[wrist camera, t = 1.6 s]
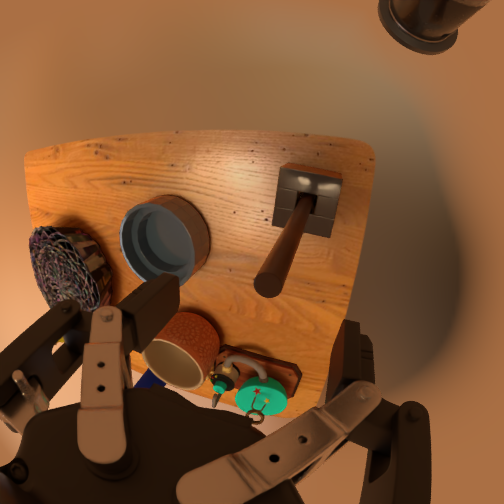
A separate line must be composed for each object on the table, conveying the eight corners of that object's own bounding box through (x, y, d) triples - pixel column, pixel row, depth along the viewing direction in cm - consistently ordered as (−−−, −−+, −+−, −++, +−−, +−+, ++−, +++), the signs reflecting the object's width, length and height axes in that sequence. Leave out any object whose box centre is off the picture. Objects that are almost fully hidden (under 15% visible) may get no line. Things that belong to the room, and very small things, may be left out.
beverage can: (159, 359, 62) (125, 402, 49) (162, 346, 60) (126, 391, 47) (177, 370, 62) (146, 415, 49) (181, 358, 59) (148, 405, 46)
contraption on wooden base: (216, 331, 53) (181, 387, 40) (308, 357, 49) (294, 423, 36) (213, 377, 59) (185, 428, 46) (291, 400, 55) (275, 457, 42)
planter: (237, 328, 51) (214, 368, 42) (212, 362, 57) (191, 399, 47) (180, 291, 52) (148, 325, 42) (163, 330, 57) (136, 363, 48)
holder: (288, 162, 38) (280, 166, 32) (341, 173, 36) (342, 179, 31) (280, 213, 41) (271, 225, 35) (331, 224, 39) (330, 238, 34)
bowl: (140, 189, 46) (117, 197, 40) (214, 201, 43) (196, 211, 38) (142, 262, 52) (123, 276, 46) (209, 281, 49) (193, 299, 44)
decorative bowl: (126, 225, 52) (91, 239, 43) (132, 337, 62) (107, 360, 52) (53, 207, 57) (22, 216, 48) (64, 303, 67) (40, 318, 58)
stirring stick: (305, 186, 38) (255, 269, 15) (317, 189, 38) (284, 276, 15) (303, 197, 39) (251, 294, 16) (315, 200, 39) (279, 301, 16)
